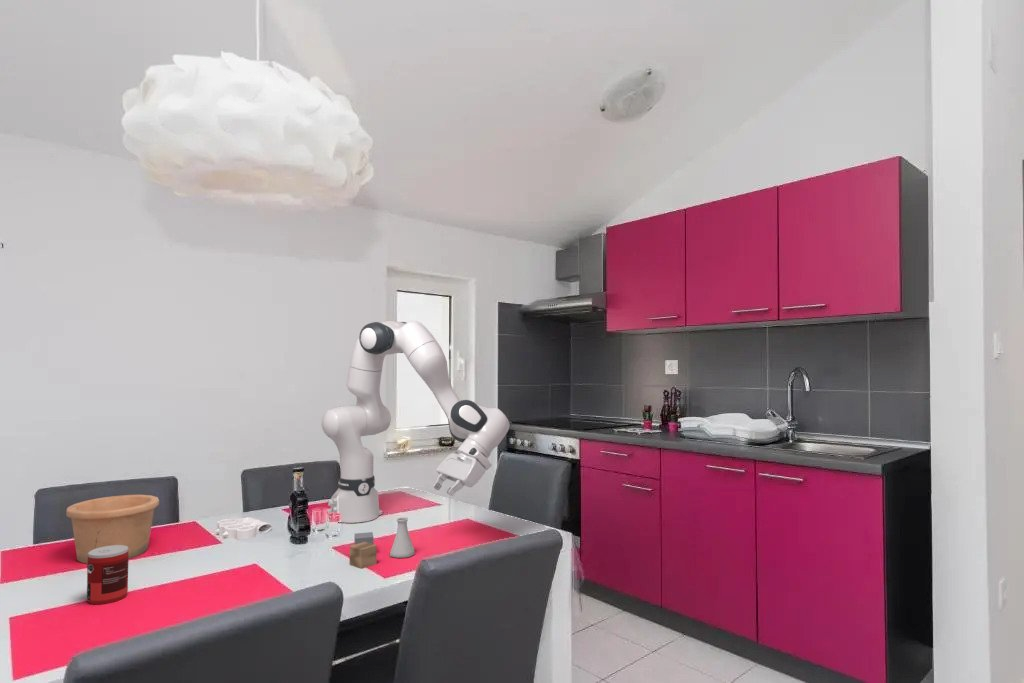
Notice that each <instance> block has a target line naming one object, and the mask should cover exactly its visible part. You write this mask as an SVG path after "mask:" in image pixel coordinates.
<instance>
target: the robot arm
mask: <svg viewBox="0 0 1024 683" xmlns="http://www.w3.org/2000/svg"><path fill="white" fill-rule="evenodd" d="M395 354H404V355H405V357H406V359H407V360H408V362H409V363H410V365H411V367H412V368H413V369H414V371H415V372H416V373H417V375H418V376H419V377H420V378H421V380H422V381H424V383H425V384H426V386H427V387H428V388H429V389H430V391H431V392H432V394H433V395H434V398H435V399H436V400H437V402H438V404H439V405H440V408H441V409H442V410H443V412H444V414H445V416H446V418H447V420H448V429H449V432H450V433H449V434H450V435H451V438H453V439H454V440H455V441H457V442H458V443H461V445H459V446H458V448H457V449H456V452H453V453H449V454H448V455H447V456H446V457H445V458H444V459H443V460H442V461H441V462H440V463H439V464H438V466H437V467H436V468H435V469H436V470H435V471H436V473H437V474H439V475H438V476H437V479H436V481H435V482H434V484H433V485H432V486H433V488H434V489H435V490H437V491H440V490H441V488H442V487H443V486H442V485H443V483H444V482H446V481H447V480H449V481H452V482H454V483H455V484H453V486H451V487H449V488H448V489H447V491H446V493H447V494H448V495H449V496H450V497H453V496H454V495H456V493H457V492H459V491H460V490H462V489H463V487H464V486H465V487H468V488H473V487H474V486H475V485H476V484H477V483H479V480H481V479H482V478H483V475H484V474H485V473H486V471H488V470H490V468H491V467H492V465H493V464H492V463H491V462H490V460H489V457H490V456H491V453H492V452H493V450H494V449H495V448H496V447H498V446H499V444H500V443H501V442H502V440H503V439H504V438H505V437H506V435H507V433H508V432H509V429H510V421H509V419H508V416H507V415H506V413H504V411H502V410H501V409H499V408H498V407H486V406H484V405H481V404H478V403H476V402H475V401H472V400H470V399H462V400H460V398H459V396H458V395H457V393H456V391H455V389H454V388H453V387H452V384H451V381H450V376H449V370H448V361H447V359H446V356H445V353H444V351H443V349H442V346H441V345H440V343H438V341H437V339H436V338H435V336H434V335H433V334H432V332H431V331H429V330H428V328H427V327H426V326H425V325H424V324H423V323H422V322H420V321H417V320H414V321H413V320H411V321H409V322H406V321H396V320H395V321H394V320H387V321H374V322H373V321H372V322H370V323H368V324H366V325H364V326H363V327H362V328H361V330H360V332H359V337H358V338H357V339H356V341H355V344H354V346H353V350H352V353H351V355H350V356H351V357H350V361H349V367H348V374H347V379H346V387H347V389H348V391H349V392H350V393H351V394H353V395H354V396H355V397H356V403H355V404H354V405H342V406H337V407H333V408H330V409H327V410H326V411H325V412H324V413H323V416H322V418H321V429H322V431H323V433H324V434H325V435H326V436H327V437H328V438H330V439H331V440H332V442H333V443H334V445H335V446H336V448H337V451H338V454H339V461H340V462H339V464H340V477H339V479H338V482H337V483H338V485H337V487H338V488H337V490H336V491H335V492H334V493H333V495H332V496H331V499H330V498H329V499H328V501H327V504H328V507H330V508H327V511H328V513H330V514H331V513H335V512H337V513H340V514H341V522H340V523H345V524H346V523H347V524H349V523H350V524H351V523H352V524H353V523H364V522H369V521H372V520H376V519H377V518H378V517H379V516H381V515H383V510H381V509H380V504H379V500H380V499H379V492H378V490H377V489H376V488H375V486H376V485H375V483H376V479H375V475H374V454H373V451H371V450H370V449H368V448H367V447H365V446H364V445H363V443H362V440H361V437H366V436H374V435H377V434H380V433H383V432H385V431H387V430H388V429H389V427H390V425H391V421H392V417H391V412H390V410H389V409H388V408H387V407H386V406H385V405H384V403H383V401H382V398H381V392H380V391H381V389H380V388H381V380H382V375H383V366H384V360H385V357H386V356H388V355H395Z"/></svg>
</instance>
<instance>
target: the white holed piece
mask: <svg viewBox="0 0 1024 683" xmlns="http://www.w3.org/2000/svg"><path fill="white" fill-rule="evenodd" d="M272 529H273V525H272V524H271V523H269V522H264V521H262V520H261V519H257V518H254V517H252V516H251V517H247V516H246V517H242V518H241V517H240V518H226V519H225V518H224V519H221V520H218V521H216V529H215V530H214V531H213V533H215V534H218V536H220V537H223V538H225V539H233V540H235V539H236V541H245V540H250V539H254V538H256V536H257V535H258V534H263V533H267V532H270V531H271V530H272Z"/></svg>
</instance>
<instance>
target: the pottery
mask: <svg viewBox="0 0 1024 683" xmlns="http://www.w3.org/2000/svg"><path fill="white" fill-rule="evenodd" d="M159 506H160V499H159V497H158V496H155V495H151V494H149V495H148V494H122V495H112V496H111V495H110V496H105V497H98V498H93V499H88V500H84V501H79V502H76V503H74V504H72V505H70V506H68V507H67V508H66V511H65V514H66V515H65V516H66V517H68V518H69V519H71V526H72V531H73V532H72V533H73V540H74V546H75V554H76V560H77V562H80V563H81V564H87V560H88V552H90V551H91V550H94V549H96V548H100V547H105V546H112V545H124V546H127V547H128V550H129V558H128V560H129V559H132V558H136V557H139V556H140V555H142V554H144V553H146V552H147V551H148V550H149V542H150V538H151V537H150V536H151V532H152V525H153V519H154V513H155V509H156V508H157V507H159Z"/></svg>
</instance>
